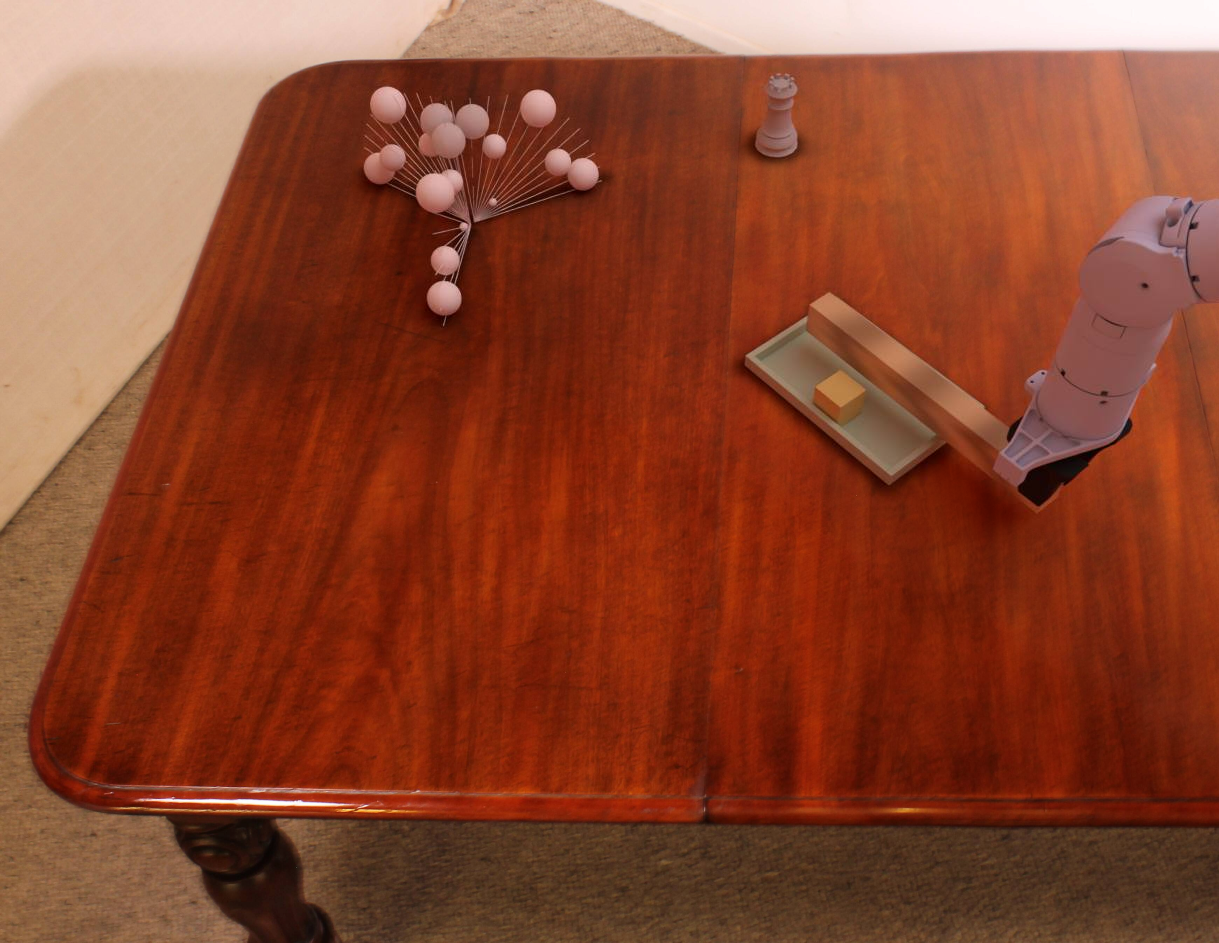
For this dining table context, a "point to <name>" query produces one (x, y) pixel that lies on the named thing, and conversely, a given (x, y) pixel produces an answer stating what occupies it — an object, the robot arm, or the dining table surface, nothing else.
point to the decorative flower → (450, 143)
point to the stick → (913, 386)
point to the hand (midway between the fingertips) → (1043, 485)
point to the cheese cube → (839, 398)
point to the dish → (875, 434)
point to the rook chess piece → (778, 119)
